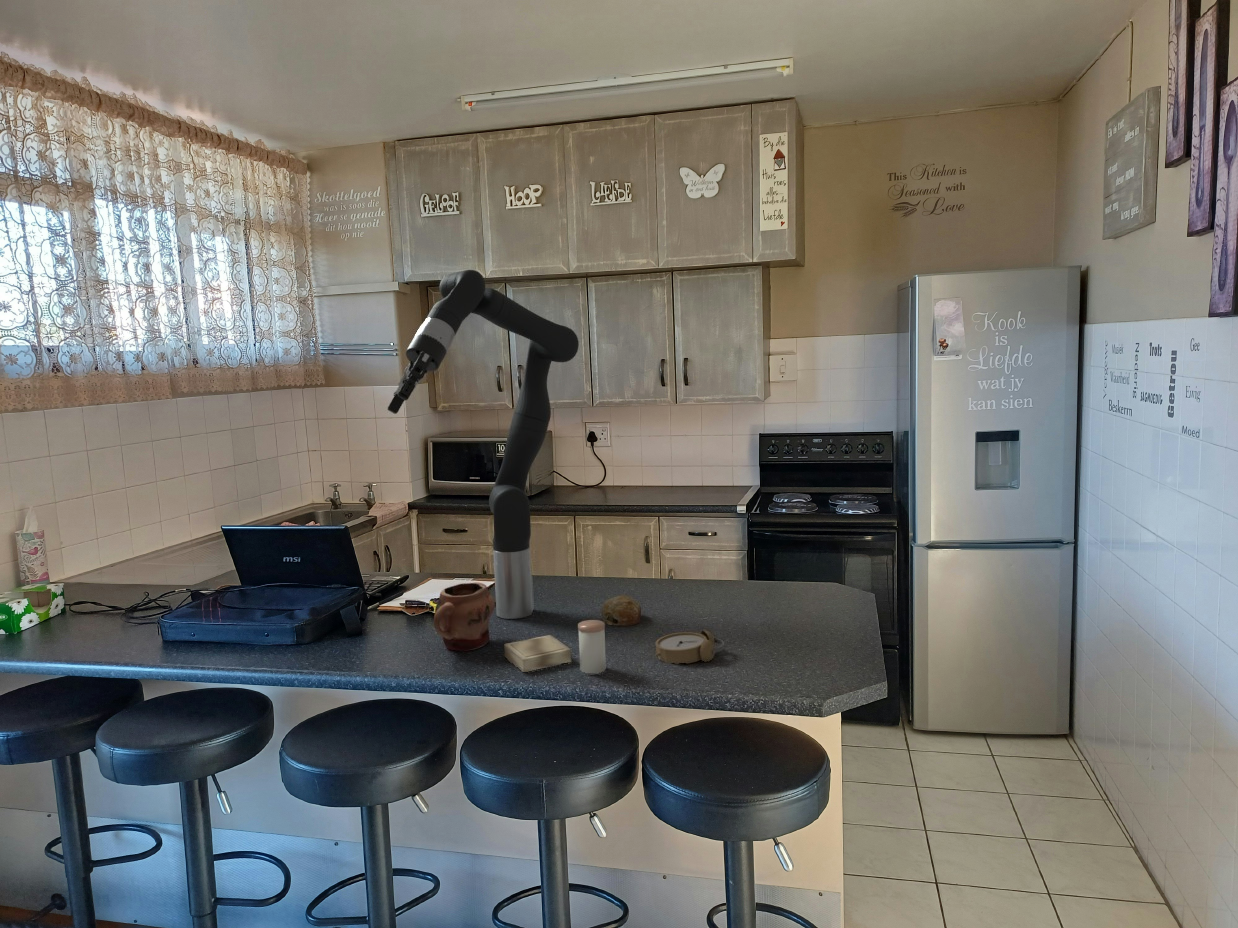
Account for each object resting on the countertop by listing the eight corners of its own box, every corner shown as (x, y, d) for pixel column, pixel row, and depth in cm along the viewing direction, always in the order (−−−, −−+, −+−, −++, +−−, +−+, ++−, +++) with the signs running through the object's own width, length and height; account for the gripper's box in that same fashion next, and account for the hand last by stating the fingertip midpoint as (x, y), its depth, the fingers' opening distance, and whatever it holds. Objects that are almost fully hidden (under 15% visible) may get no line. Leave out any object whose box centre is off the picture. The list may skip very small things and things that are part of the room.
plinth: (550, 647, 190) (550, 634, 190) (571, 662, 180) (570, 648, 180) (505, 657, 185) (504, 643, 184) (523, 673, 175) (522, 658, 175)
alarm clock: (655, 634, 189) (721, 622, 187) (660, 654, 189) (725, 643, 187) (652, 652, 177) (722, 640, 176) (657, 674, 178) (726, 662, 176)
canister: (587, 663, 180) (585, 618, 178) (610, 667, 177) (609, 621, 176) (575, 673, 175) (573, 626, 173) (599, 676, 172) (597, 630, 171)
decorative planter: (466, 665, 181) (462, 603, 179) (417, 660, 185) (412, 599, 183) (508, 635, 199) (505, 578, 197) (462, 630, 203) (459, 575, 201)
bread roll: (599, 635, 207) (592, 611, 203) (612, 607, 215) (606, 583, 211) (636, 639, 204) (630, 615, 200) (649, 610, 212) (643, 586, 207)
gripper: (456, 340, 174) (422, 403, 167) (436, 365, 186) (404, 424, 179) (424, 321, 172) (388, 383, 165) (406, 347, 184) (372, 406, 177)
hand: (396, 405), depth 172 cm, fingers open, 8 cm apart
